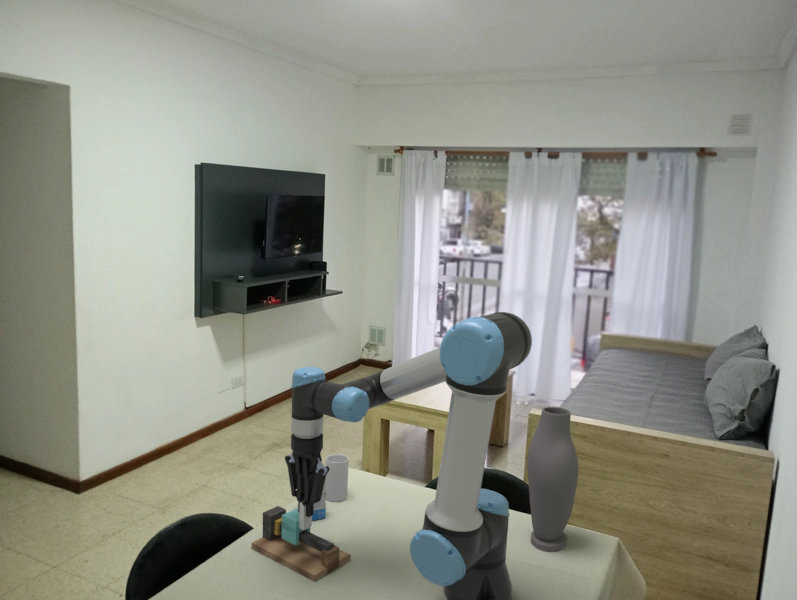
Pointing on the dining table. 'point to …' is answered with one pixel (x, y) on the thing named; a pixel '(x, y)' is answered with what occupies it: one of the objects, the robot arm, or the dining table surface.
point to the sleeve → (291, 527)
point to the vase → (551, 479)
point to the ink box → (320, 506)
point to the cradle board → (298, 548)
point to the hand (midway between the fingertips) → (305, 527)
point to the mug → (337, 477)
